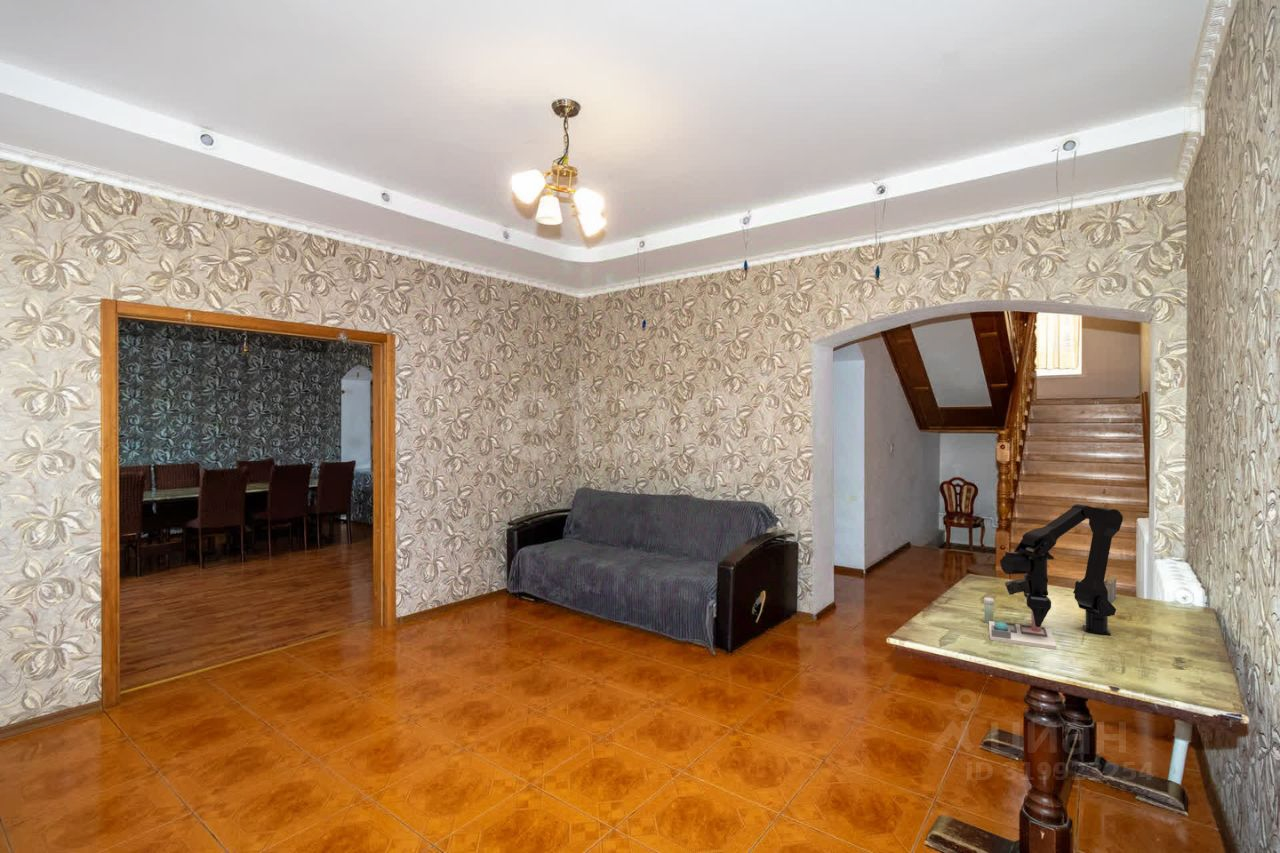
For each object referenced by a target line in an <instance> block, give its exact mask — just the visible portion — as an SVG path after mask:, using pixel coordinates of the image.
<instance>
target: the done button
mask: <svg viewBox="0 0 1280 853" xmlns="http://www.w3.org/2000/svg"><path fill="white" fill-rule="evenodd" d="M994 622H995V621H994ZM1004 622H1005V621H999V622H995V630H1001V631H1007V624H1006V623H1007V622H1006V623H1004Z"/></svg>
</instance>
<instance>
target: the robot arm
mask: <svg viewBox="0 0 1280 853" xmlns="http://www.w3.org/2000/svg"><path fill="white" fill-rule="evenodd" d="M1123 517H1124V515H1123V514H1122V513H1121V512H1120V511H1119V510H1118V509H1115V508H1109V507H1102V506H1096V507H1094V506H1093V507H1092V506H1090V505H1086V504H1082V503H1081V504H1080V503H1076V504H1073V505H1072V506H1071V507H1070V509H1068V510H1067V511H1066V512H1064V513H1062V514H1060V515H1059V516H1058V517H1056V518H1055V519H1054V520H1052V521H1051V522H1049V523H1048V524H1046V525H1045V526H1042V527H1039V528H1034V529H1032V530H1029V531H1027V532H1025V533H1024V534H1022V537H1021V538H1022V539H1021V540H1020V541H1019V544H1017V546H1016V548H1015V549H1014V551H1013V552H1011V551H1005V552H1004V553H1005V554H1004V556H1002V557H1001V559H1000V561H999V562H1000V568H1001V570H1002V571H1003V573H1004V574H1006V575H1022V574H1023V578H1018V579H1013V580H1009V581H1006V582H1004V585H1005V587H1006V590H1007V592H1008V595H1010V596H1012V595H1015V594H1017V593H1023V595H1024V597H1025V603H1026V606H1027V607H1028V608H1029V609H1030V611H1031V610H1032V611H1033V616H1034V621H1035V625H1036V627H1040V626H1041V627H1042V624H1043V622H1044V620H1045V619H1046V616H1047V615H1048V613H1049V612H1050V610H1051V609H1052V601H1051V599H1050V598H1049V597H1048V596H1049V591H1048V583H1049V577H1048V560H1054V559H1055V557H1054V556H1053V555H1052V554H1051V553H1050V551H1051V550H1052V549H1053V548H1054V547H1055V546H1056V544H1057V542H1058V540H1059V538H1060V537H1062V536H1063V535H1065V534H1066V533H1068V532H1069V531H1070V530H1071V531H1072V529H1074V528H1075V527H1076V526H1078V525H1079V524H1081V523H1082V522H1084V521H1085V520H1086V519H1087V520H1088V525H1089V528H1090V530H1091V533H1092V537H1091V542H1090V547H1089V551H1088V552H1089V553H1088V558H1087V564H1086V569H1085V574H1084V577H1083V579H1081V580H1080V581H1079V580H1077V581H1075V583H1074V590H1073V592H1072V593H1073V594H1074V596H1073V597H1074V600H1075V601H1076V602H1077V605H1078V608H1079V609H1082V610H1085V624H1083V625H1082V628H1083V630H1084V632H1086V633H1091V634H1097V635H1098V634H1100V635H1106V636H1111V635H1112V634H1111V632H1110V629H1109V628H1108V627H1109V626H1108V625H1109V617H1112V616H1115V615H1116V612H1117V608H1116V607H1115V606H1114V605H1113V603H1110V602H1109V601H1108V591H1107V588H1106V586H1105V584H1104V581H1105V578H1106V574H1105V573H1106V572H1107V567H1108V562H1109V556H1110V555H1109V554H1110V551H1111V544H1112V539H1113V537H1114V536H1115V535H1116V534H1117V533H1118V532H1119V531H1120V529H1121V527H1122V523H1123V519H1124V518H1123Z"/></svg>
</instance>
